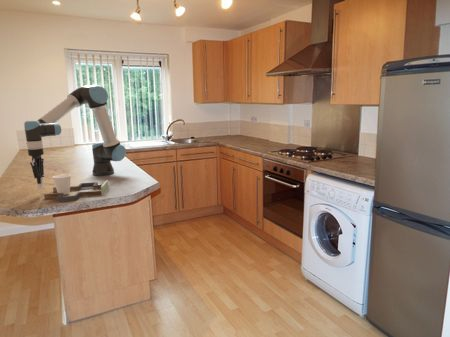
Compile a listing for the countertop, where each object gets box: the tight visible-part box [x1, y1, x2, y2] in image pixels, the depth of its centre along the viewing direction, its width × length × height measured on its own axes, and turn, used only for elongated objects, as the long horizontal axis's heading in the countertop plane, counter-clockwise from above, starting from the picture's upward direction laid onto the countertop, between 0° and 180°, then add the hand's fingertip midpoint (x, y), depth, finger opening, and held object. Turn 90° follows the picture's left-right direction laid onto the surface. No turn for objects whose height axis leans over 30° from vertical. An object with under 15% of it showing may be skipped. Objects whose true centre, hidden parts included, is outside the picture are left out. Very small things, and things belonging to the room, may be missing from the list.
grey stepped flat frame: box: [43, 184, 103, 200], centre depth 195 cm, size 15×31×2 cm, turn 99°
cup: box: [51, 173, 72, 196], centre depth 193 cm, size 10×10×11 cm
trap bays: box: [56, 181, 99, 203], centre depth 195 cm, size 30×15×2 cm, turn 9°
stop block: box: [100, 179, 110, 196], centre depth 197 cm, size 15×1×5 cm, turn 9°
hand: (40, 188), depth 191 cm, fingers closed
